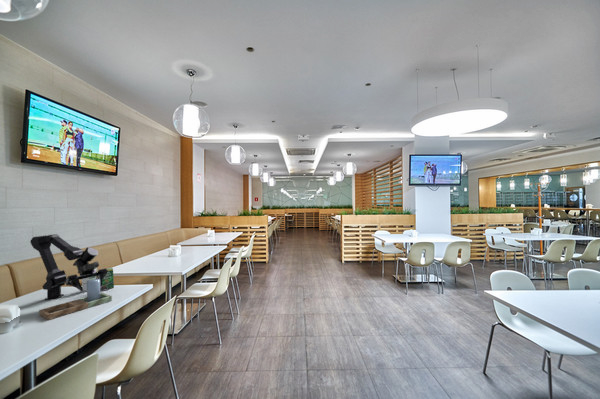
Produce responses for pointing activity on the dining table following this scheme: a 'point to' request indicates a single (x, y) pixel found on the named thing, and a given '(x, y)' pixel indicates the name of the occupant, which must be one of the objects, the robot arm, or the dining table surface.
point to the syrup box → (84, 281)
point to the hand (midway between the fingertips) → (92, 288)
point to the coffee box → (108, 280)
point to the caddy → (72, 306)
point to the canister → (93, 290)
